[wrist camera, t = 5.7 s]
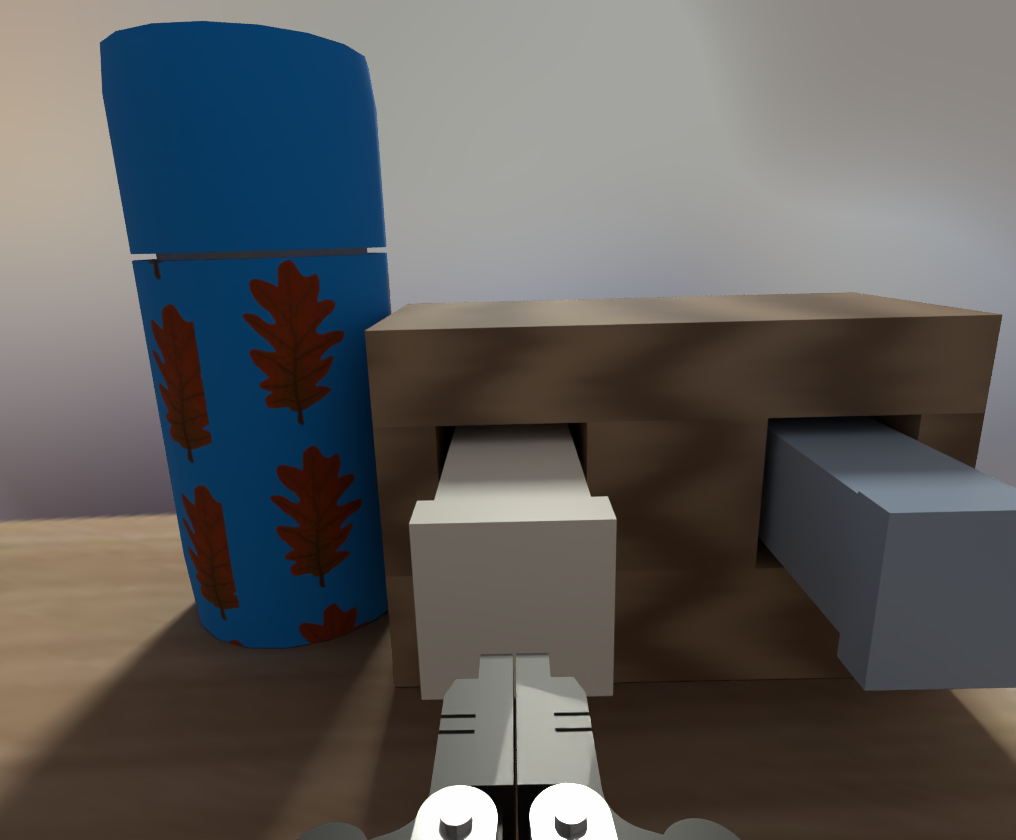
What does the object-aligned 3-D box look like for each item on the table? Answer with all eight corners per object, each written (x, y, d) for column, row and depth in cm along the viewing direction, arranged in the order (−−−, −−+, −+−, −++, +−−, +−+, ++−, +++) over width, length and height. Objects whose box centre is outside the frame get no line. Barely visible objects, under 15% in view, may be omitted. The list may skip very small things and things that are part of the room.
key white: (421, 699, 18) (409, 524, 16) (455, 522, 29) (449, 409, 27) (612, 695, 17) (616, 519, 16) (572, 519, 29) (572, 406, 27)
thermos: (439, 610, 32) (404, 39, 25) (200, 679, 27) (78, 2, 20) (377, 528, 41) (340, 97, 34) (192, 569, 36) (107, 80, 30)
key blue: (864, 690, 17) (889, 513, 16) (726, 515, 28) (734, 402, 27) (1057, 686, 17) (1099, 508, 16) (843, 513, 28) (857, 399, 27)
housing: (394, 686, 26) (364, 330, 22) (425, 567, 36) (408, 303, 32) (937, 675, 26) (1002, 314, 22) (822, 558, 36) (852, 292, 32)
